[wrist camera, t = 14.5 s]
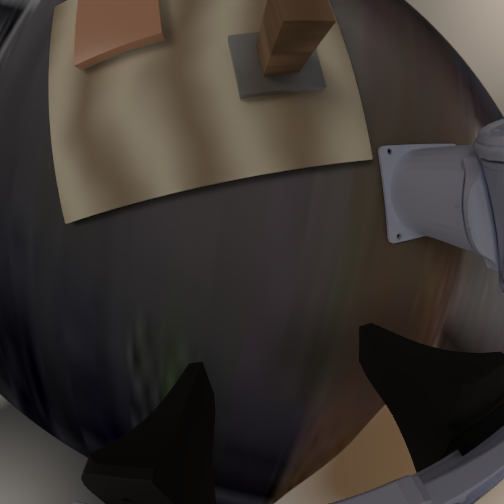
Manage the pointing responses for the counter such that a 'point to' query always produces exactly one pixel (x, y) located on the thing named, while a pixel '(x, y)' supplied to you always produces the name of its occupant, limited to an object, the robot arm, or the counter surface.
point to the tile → (114, 29)
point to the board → (188, 112)
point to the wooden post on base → (282, 49)
